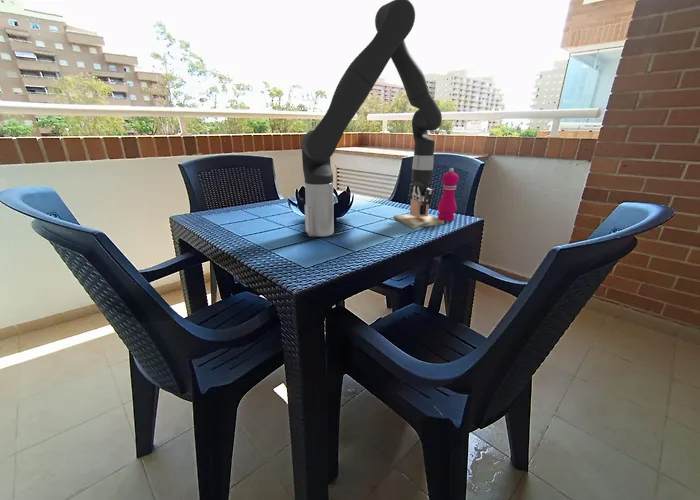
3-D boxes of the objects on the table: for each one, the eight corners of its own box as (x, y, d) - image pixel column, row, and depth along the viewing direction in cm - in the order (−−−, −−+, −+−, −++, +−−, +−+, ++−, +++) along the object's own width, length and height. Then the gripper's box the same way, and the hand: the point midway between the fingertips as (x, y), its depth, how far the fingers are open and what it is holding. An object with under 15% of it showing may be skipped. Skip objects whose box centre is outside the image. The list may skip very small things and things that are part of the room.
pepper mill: (457, 221, 124) (464, 169, 117) (438, 221, 124) (444, 169, 117) (452, 216, 131) (458, 166, 123) (434, 216, 131) (439, 166, 124)
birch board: (411, 227, 116) (411, 224, 116) (394, 217, 128) (394, 215, 128) (443, 224, 120) (444, 221, 120) (424, 215, 133) (424, 212, 132)
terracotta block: (416, 217, 121) (417, 201, 118) (409, 214, 125) (411, 199, 123) (427, 216, 122) (429, 200, 120) (421, 213, 127) (422, 198, 124)
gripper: (442, 169, 112) (437, 216, 118) (421, 165, 125) (417, 208, 131) (423, 170, 110) (419, 218, 116) (404, 166, 122) (401, 209, 128)
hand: (418, 212), depth 123 cm, fingers closed on terracotta block, 5 cm apart
